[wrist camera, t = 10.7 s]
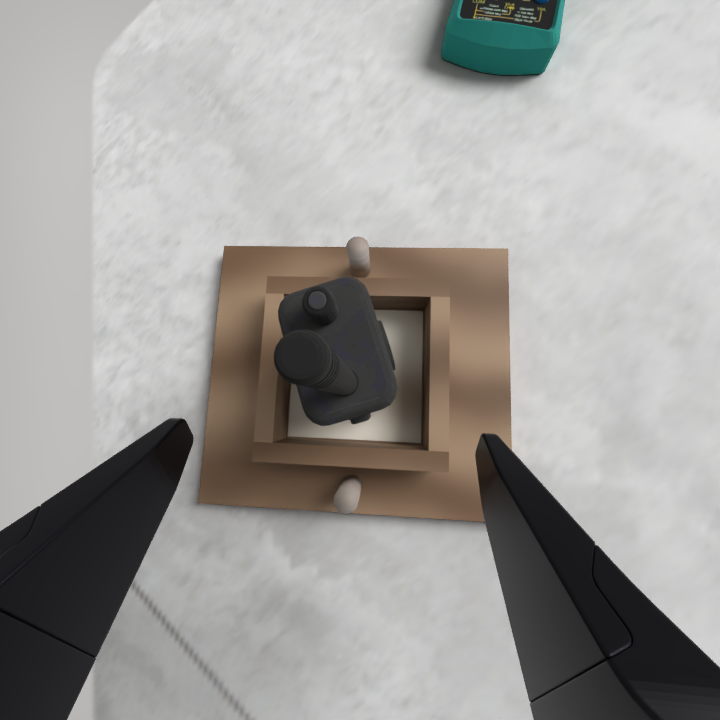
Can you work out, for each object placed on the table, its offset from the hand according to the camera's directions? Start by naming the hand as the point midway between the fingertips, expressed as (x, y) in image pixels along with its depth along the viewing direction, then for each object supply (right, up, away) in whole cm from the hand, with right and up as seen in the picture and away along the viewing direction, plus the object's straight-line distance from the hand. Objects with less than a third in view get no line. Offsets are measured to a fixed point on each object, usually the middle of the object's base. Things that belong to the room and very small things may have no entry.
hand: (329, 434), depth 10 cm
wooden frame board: (+1, +1, +11) cm, 11 cm away
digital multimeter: (+12, +30, +14) cm, 35 cm away
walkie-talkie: (+1, +1, +10) cm, 10 cm away
